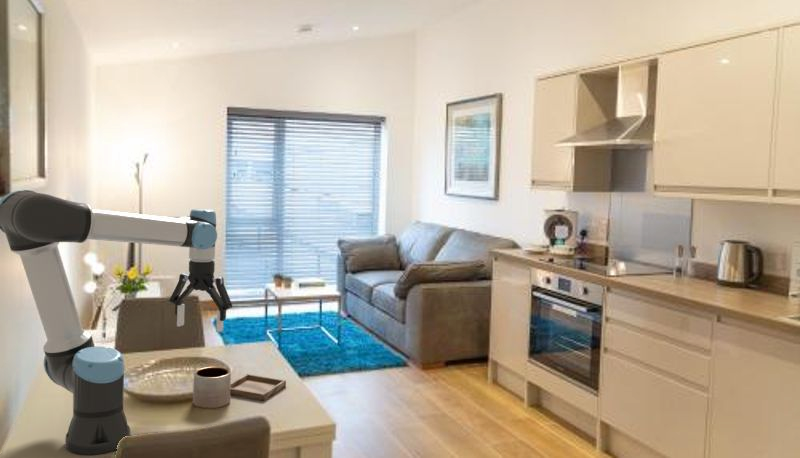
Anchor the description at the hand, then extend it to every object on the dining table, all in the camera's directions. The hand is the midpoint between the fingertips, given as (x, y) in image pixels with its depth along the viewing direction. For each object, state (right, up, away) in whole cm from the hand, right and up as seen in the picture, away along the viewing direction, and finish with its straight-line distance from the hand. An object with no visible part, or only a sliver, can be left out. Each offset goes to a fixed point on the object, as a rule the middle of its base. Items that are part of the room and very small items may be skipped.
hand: (199, 328), depth 202 cm
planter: (+5, -22, -4) cm, 23 cm away
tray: (+15, -21, +8) cm, 27 cm away
